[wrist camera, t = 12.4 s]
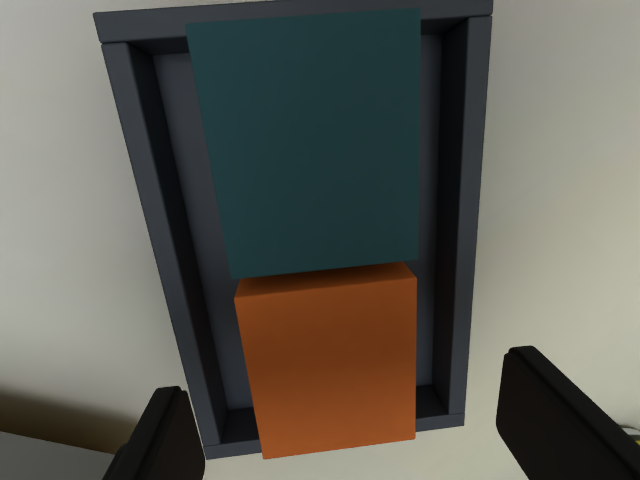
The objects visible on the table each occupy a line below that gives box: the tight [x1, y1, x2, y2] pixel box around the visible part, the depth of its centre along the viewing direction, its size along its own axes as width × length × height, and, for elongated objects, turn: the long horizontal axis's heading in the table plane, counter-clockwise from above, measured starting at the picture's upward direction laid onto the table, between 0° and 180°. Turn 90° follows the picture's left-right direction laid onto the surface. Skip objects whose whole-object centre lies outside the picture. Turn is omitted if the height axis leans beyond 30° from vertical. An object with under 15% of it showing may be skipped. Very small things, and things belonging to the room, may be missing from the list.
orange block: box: [234, 261, 417, 459], centre depth 14 cm, size 7×6×4 cm
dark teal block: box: [185, 7, 421, 279], centre depth 11 cm, size 7×6×4 cm
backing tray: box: [93, 0, 493, 460], centre depth 14 cm, size 18×12×3 cm
